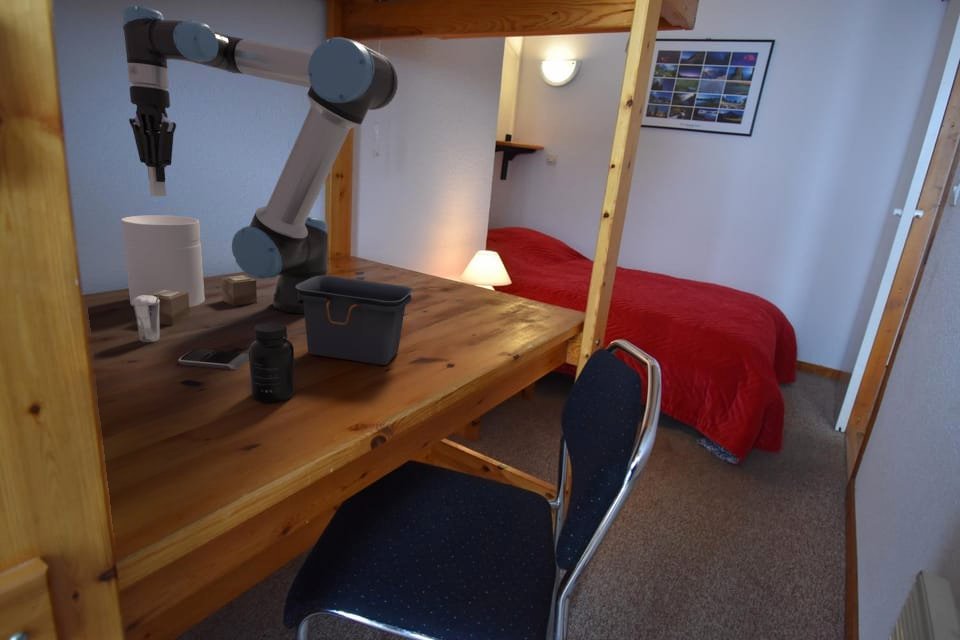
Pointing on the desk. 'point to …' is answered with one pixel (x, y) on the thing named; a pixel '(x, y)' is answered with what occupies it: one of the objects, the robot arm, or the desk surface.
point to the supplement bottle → (271, 364)
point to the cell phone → (214, 359)
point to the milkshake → (147, 317)
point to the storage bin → (353, 318)
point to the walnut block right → (239, 290)
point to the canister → (163, 256)
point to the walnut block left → (172, 306)
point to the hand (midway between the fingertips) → (158, 195)
